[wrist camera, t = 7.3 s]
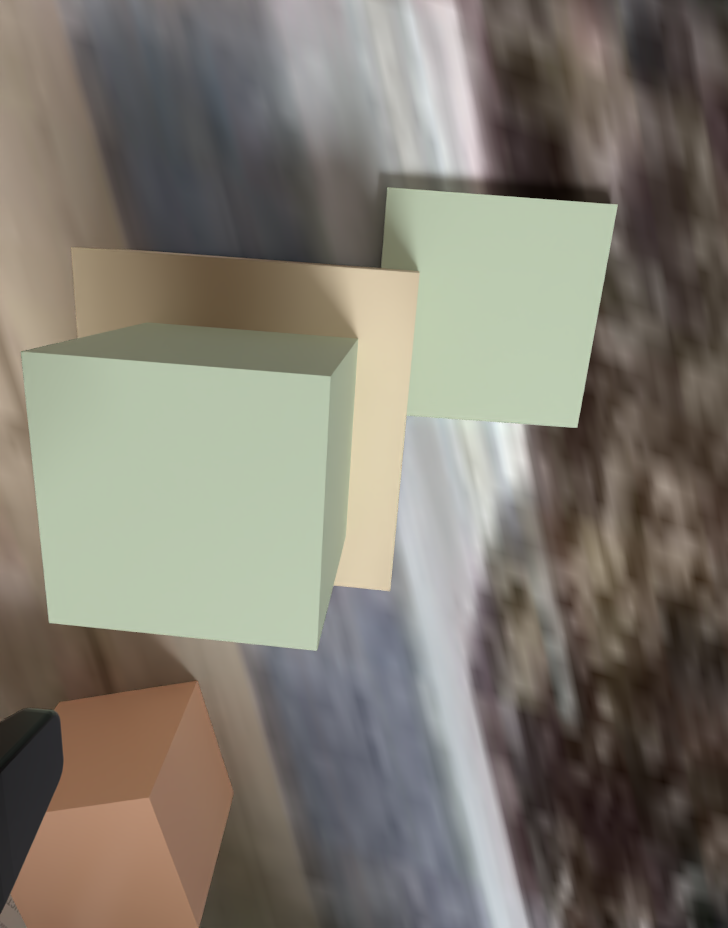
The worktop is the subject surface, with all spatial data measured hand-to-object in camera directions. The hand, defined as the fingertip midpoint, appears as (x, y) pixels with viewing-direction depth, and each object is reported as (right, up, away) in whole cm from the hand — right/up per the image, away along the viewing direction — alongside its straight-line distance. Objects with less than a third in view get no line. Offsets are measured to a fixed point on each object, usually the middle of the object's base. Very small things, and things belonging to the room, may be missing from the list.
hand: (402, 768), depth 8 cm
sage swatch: (+3, +8, +10) cm, 13 cm away
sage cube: (-3, +5, +7) cm, 9 cm away
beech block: (-3, +6, +10) cm, 12 cm away
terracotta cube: (-8, -6, +15) cm, 18 cm away
